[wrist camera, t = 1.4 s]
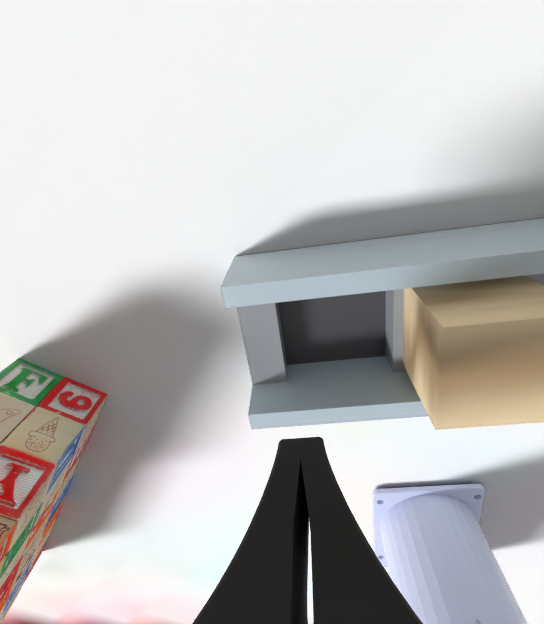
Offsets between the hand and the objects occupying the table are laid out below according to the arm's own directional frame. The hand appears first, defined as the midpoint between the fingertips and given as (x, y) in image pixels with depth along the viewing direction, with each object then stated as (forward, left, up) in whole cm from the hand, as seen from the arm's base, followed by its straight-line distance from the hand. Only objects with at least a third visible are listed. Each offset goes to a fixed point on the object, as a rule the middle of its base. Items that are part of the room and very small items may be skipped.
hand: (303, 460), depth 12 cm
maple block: (0, -8, -8) cm, 12 cm away
